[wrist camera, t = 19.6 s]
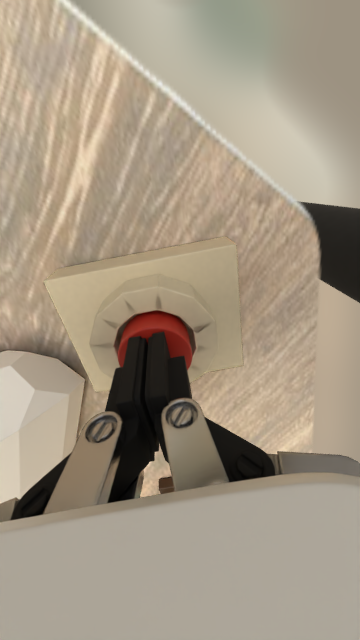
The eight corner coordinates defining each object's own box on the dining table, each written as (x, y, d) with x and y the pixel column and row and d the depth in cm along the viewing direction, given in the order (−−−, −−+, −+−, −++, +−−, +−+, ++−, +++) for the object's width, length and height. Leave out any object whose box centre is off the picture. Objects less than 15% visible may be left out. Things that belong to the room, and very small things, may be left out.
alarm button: (183, 303, 12) (186, 320, 11) (193, 359, 14) (197, 380, 13) (113, 316, 12) (107, 335, 11) (132, 370, 14) (128, 392, 13)
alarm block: (226, 235, 14) (248, 252, 11) (234, 346, 18) (253, 385, 14) (57, 268, 14) (24, 295, 11) (102, 371, 18) (88, 415, 15)
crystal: (72, 565, 24) (108, 395, 14) (-21, 623, 20) (-73, 440, 9) (56, 492, 29) (74, 324, 19) (-21, 526, 25) (-56, 332, 14)
